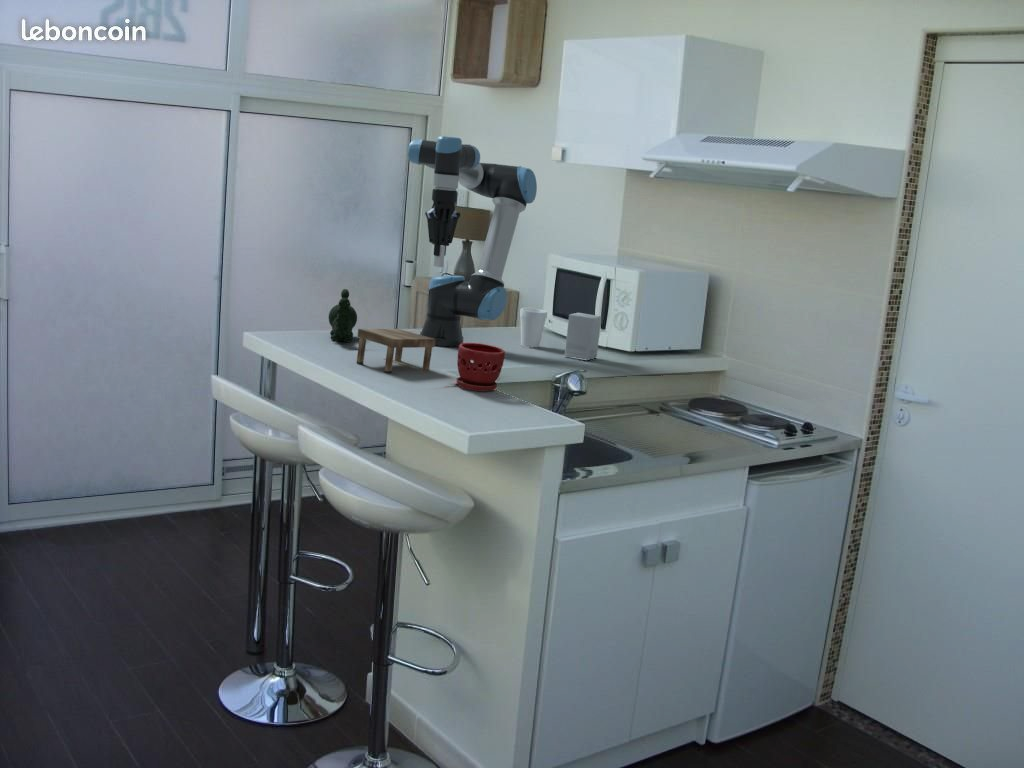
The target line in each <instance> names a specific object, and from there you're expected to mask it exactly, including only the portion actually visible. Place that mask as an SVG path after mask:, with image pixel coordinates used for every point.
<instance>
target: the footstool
mask: <svg viewBox="0 0 1024 768" xmlns="http://www.w3.org/2000/svg"><path fill="white" fill-rule="evenodd" d="M356 336H357V338H359V339H358V340H359V341H358V347H357V356H356V364H357V365H358V364H359V365H364V361H365V355H366V354H365V351H366V345H367V341H370V342H373V343H377V344H378V345H379V344H380V345H384V346H385V347H386V355H385V359H386V360H385V364H384V371H383V373H386V374H392V372H393V371H392V369H393V363H394V362H393V360H394V361H397V362H402V358H403V356H402V355H403V349H404V348H409V349H410V348H424V355H423V361H422V362H423V364H422V369H423V370H426V371H430V368H431V367H430V366H431V359H432V358H431V357H432V352H433V351H432V350H433V348H435V347H436V345H435V339H433V338H430V337H426V336H422V335H420V333H415V332H411V331H408V330H404V329H400V328H358V329H357V335H356ZM394 353H395V354H394Z"/></svg>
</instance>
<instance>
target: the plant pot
mask: <svg viewBox="0 0 1024 768" xmlns="http://www.w3.org/2000/svg"><path fill="white" fill-rule="evenodd" d="M505 355H506V352H505V350H504V349H503V348H500V347H497V346H495V345H490V344H484V343H477V342H463V343H462V344H460V345H459V346H458V351H457V362H456V363H457V371H458V374H459V377H457V378H456V383H457V385H458V386H459V387H460V388H462V389H465V390H469V391H473V392H491V391H493V390H495V389H496V388H497V387H498V383H497V380H498V378H499V377H500V375H501V372H502V370H503V366H504V361H505V357H506V356H505ZM471 361H472V362H471Z"/></svg>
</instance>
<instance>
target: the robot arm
mask: <svg viewBox="0 0 1024 768" xmlns="http://www.w3.org/2000/svg"><path fill="white" fill-rule="evenodd" d="M407 158H408V160H409V161H410V163H412V164H416V165H419V166H420V165H421V166H422V165H423V166H426V167H428V168H430V169H433V170H434V171H433V183H432V186H433V187H434V188H433V189H432V193H431V200H432V203H433V204H432V206H431V209H430V210H428V211H427V210H426V211H425V213H424V215H425V218H426V220H427V231H428V232H427V233H428V242H429V243H431V245H433V256H434V259H433V267H436V268H444V262H445V256H446V252H447V247H449V246H450V244H452V243H453V240H454V236H455V232H456V227H457V224H458V220H459V219H460V217H461V213H460V212H458V211H457V210H456V206H455V204H456V203H457V201H458V200H457V199H458V191H457V190H458V188H459V184H460V186H462V187H463V188H465V189H467V190H468V191H471V192H472V193H475V194H478V195H480V196H482V197H485V198H490V199H492V201H491V202H492V203H493V204H494V209H493V213H492V217H491V219H490V223H489V227H488V231H487V235H486V238H485V242H484V245H483V250H482V252H481V256H480V260H479V262H478V266H477V270H476V272H474V273H473V274H471V275H470V279H469V281H466V277H465V276H464V275H463V276H462V275H436V276H433V277H431V278H430V280H429V285H428V293H427V294H428V296H427V307H426V317H425V320H424V324H423V326H422V330H421V332H420V333H419V335H422V336H426V337H430V338H433V339H435V346H436V345H438V346H437V347H446V346H450V348H452V347H453V346H457V347H459V345H460V344H462V343H464V339H465V338H464V336H463V331H462V325H461V317H467V318H472V319H477V320H478V319H479V320H482V321H485V320H486V321H495V320H497V319H498V318H500V316H501V315H502V314H503V313H504V311H505V308H506V305H507V302H508V291H507V289H506V288H505V283H504V281H503V279H502V278H503V273H504V270H505V266H506V263H507V261H508V256H509V253H510V249H511V245H512V241H513V237H514V234H515V231H516V227H517V225H518V219H519V217H520V216H519V215H520V213H522V212H524V211H525V210H526V208H527V204H528V205H529V204H532V203H533V202H534V201H535V199H536V196H537V189H538V185H537V179H536V178H537V177H536V174H535V173H534V171H533V169H531V168H528V167H525V166H524V167H522V166H521V165H519V166H516V165H506V164H499V163H488V162H487V163H486V162H481V153H480V151H479V149H478V148H477V147H476V146H475V145H471V144H465V143H464V144H463V141H462V139H461V138H460V137H453V136H444V135H440V136H438V137H437V140H436V141H434V140H426V139H423V138H421V139H412V140H411V141H410V143H409V146H408V149H407Z"/></svg>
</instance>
